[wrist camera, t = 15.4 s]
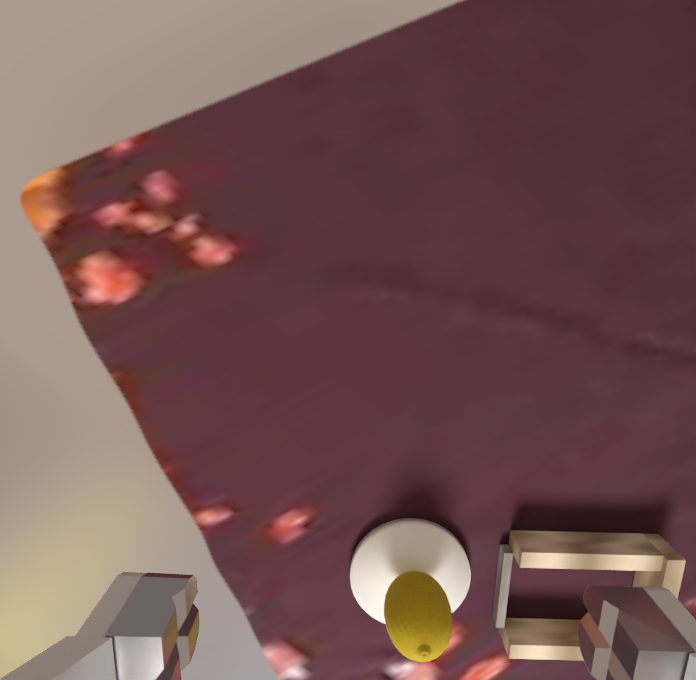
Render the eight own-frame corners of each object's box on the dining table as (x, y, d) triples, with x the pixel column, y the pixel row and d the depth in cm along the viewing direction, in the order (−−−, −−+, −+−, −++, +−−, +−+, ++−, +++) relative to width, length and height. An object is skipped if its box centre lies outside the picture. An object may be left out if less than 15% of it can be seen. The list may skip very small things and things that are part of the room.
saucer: (472, 519, 42) (475, 526, 41) (463, 621, 44) (465, 629, 43) (351, 516, 42) (351, 523, 41) (349, 617, 44) (348, 626, 43)
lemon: (411, 540, 41) (425, 611, 33) (454, 577, 42) (477, 655, 34) (368, 578, 42) (372, 656, 34) (411, 613, 43) (424, 697, 35)
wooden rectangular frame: (658, 533, 42) (685, 560, 39) (639, 634, 44) (662, 667, 41) (501, 529, 42) (514, 556, 39) (490, 630, 45) (501, 663, 41)
